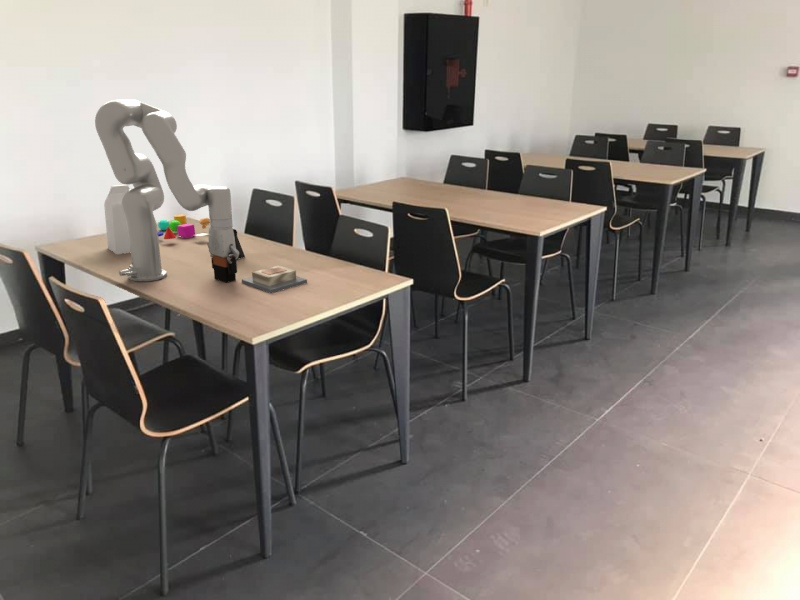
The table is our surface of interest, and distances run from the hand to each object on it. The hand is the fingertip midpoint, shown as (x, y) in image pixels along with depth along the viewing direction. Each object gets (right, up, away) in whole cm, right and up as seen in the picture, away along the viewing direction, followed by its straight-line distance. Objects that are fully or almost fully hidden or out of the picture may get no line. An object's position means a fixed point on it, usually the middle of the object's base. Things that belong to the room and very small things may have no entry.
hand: (224, 270), depth 222 cm
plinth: (+18, -3, -1) cm, 18 cm away
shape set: (-36, +18, +59) cm, 71 cm away
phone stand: (-5, +6, +28) cm, 29 cm away
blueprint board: (+18, -4, -1) cm, 18 cm away
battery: (0, -3, +1) cm, 4 cm away
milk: (-50, +10, +36) cm, 62 cm away
